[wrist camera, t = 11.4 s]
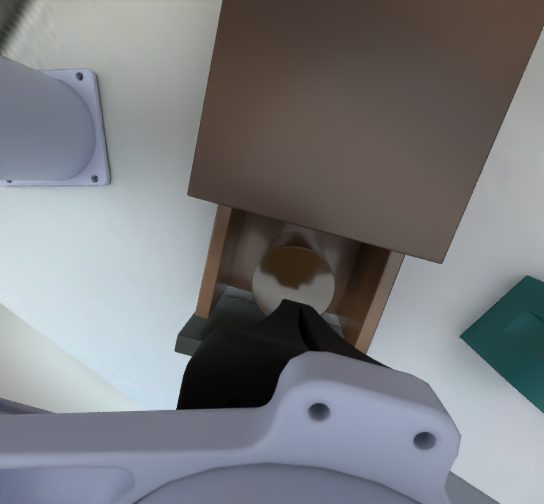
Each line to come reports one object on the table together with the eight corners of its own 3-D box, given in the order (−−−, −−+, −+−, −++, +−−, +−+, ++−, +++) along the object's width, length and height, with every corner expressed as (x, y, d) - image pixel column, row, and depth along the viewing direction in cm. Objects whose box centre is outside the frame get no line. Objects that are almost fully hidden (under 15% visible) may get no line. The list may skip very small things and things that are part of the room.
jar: (324, 293, 21) (333, 326, 17) (261, 292, 22) (252, 324, 17) (327, 230, 20) (337, 246, 15) (260, 230, 21) (250, 245, 16)
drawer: (327, 384, 24) (339, 458, 18) (197, 348, 25) (162, 409, 18) (403, 174, 20) (456, 170, 14) (245, 131, 20) (222, 107, 14)
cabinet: (386, 233, 22) (442, 264, 14) (226, 190, 22) (186, 195, 14) (466, 15, 18) (608, -122, 10) (275, -36, 19) (260, -212, 10)
